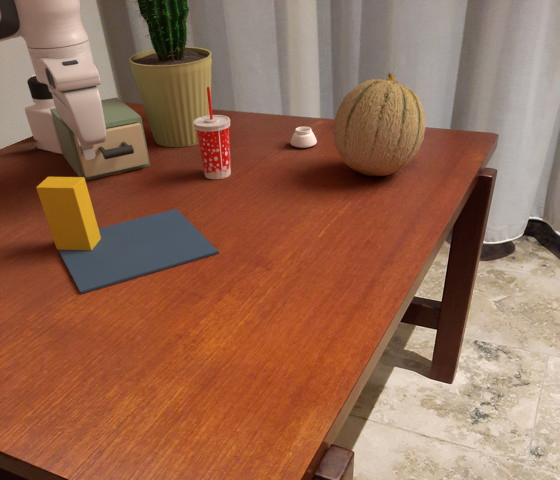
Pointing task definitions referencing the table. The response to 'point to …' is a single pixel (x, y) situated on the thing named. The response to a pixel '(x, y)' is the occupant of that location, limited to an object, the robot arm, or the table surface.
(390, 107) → the cantaloupe
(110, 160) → the drawer
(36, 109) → the container
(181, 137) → the potted cactus
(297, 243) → the table surface
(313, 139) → the white jar
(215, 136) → the beverage cup
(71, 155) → the cabinet
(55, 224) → the sponge
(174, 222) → the mat
